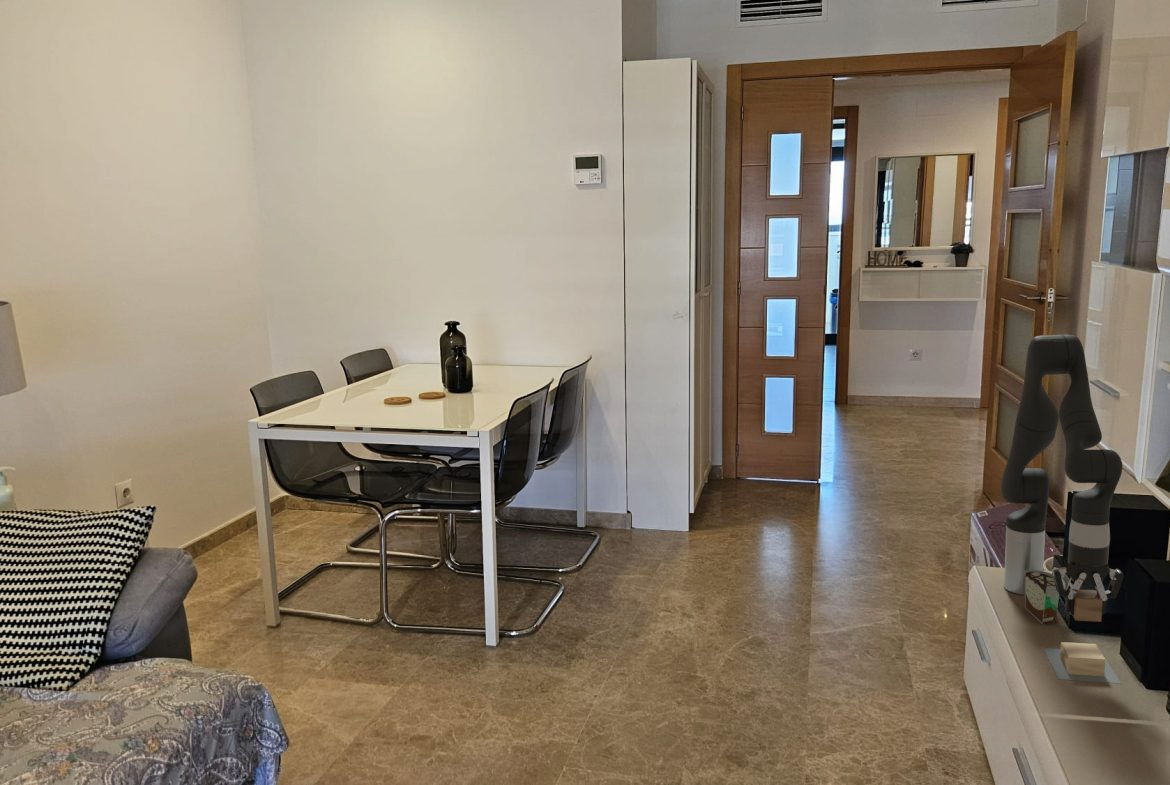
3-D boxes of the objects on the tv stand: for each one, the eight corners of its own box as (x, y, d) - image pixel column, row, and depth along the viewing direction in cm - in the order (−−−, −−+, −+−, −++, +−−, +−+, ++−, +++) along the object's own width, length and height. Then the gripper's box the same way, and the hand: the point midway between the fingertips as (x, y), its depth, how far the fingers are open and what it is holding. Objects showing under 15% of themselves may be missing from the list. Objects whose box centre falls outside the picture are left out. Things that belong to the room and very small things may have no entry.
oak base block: (1060, 658, 201) (1060, 642, 200) (1094, 660, 199) (1095, 643, 199) (1068, 674, 194) (1069, 657, 194) (1104, 676, 193) (1105, 659, 192)
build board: (1042, 650, 206) (1042, 648, 206) (1100, 653, 203) (1100, 651, 203) (1058, 681, 193) (1058, 679, 193) (1120, 685, 190) (1121, 683, 190)
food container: (1071, 626, 217) (1073, 587, 215) (1045, 627, 217) (1047, 588, 215) (1046, 604, 229) (1048, 567, 227) (1022, 605, 229) (1023, 568, 227)
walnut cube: (1069, 610, 197) (1070, 589, 196) (1094, 611, 196) (1095, 590, 195) (1075, 620, 193) (1076, 598, 192) (1101, 621, 191) (1102, 599, 190)
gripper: (1120, 535, 193) (1115, 608, 196) (1047, 533, 196) (1044, 605, 200) (1132, 547, 186) (1127, 623, 189) (1056, 545, 189) (1053, 620, 193)
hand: (1084, 613), depth 194 cm, fingers closed on walnut cube, 5 cm apart
